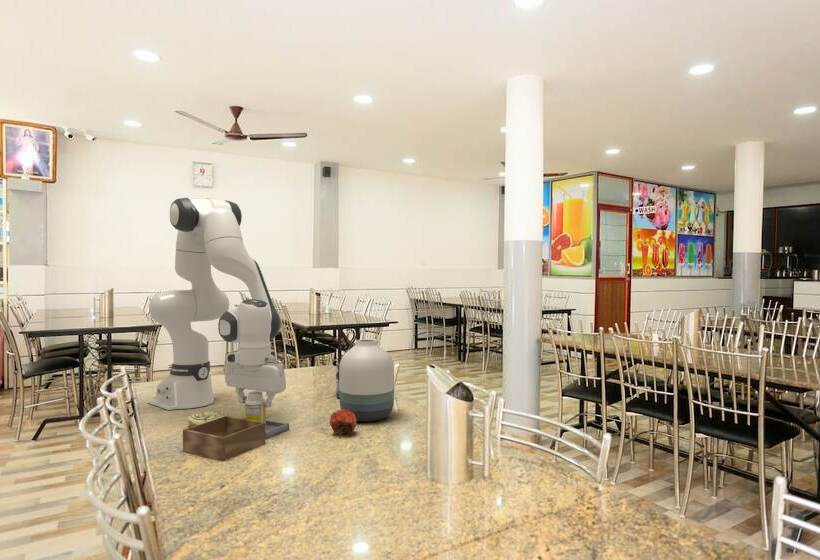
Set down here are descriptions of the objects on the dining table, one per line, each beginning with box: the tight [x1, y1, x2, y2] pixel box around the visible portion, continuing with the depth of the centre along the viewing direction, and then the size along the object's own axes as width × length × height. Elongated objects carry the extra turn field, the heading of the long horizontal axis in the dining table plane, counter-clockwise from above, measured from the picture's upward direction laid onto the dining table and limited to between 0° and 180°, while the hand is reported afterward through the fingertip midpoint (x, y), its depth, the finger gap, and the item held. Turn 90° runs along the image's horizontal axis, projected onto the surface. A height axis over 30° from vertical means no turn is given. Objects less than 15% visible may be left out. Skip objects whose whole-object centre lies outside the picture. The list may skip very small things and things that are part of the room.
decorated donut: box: [187, 410, 227, 428], centre depth 152 cm, size 10×11×4 cm
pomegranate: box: [329, 408, 357, 440], centre depth 144 cm, size 7×7×10 cm
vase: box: [339, 338, 395, 422], centre depth 161 cm, size 17×17×24 cm
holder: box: [182, 415, 266, 462], centre depth 134 cm, size 14×14×6 cm
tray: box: [242, 417, 290, 440], centre depth 148 cm, size 16×10×2 cm, turn 62°
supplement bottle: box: [244, 390, 267, 427], centre depth 148 cm, size 6×6×10 cm
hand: (255, 405), depth 148 cm, fingers open, 8 cm apart
